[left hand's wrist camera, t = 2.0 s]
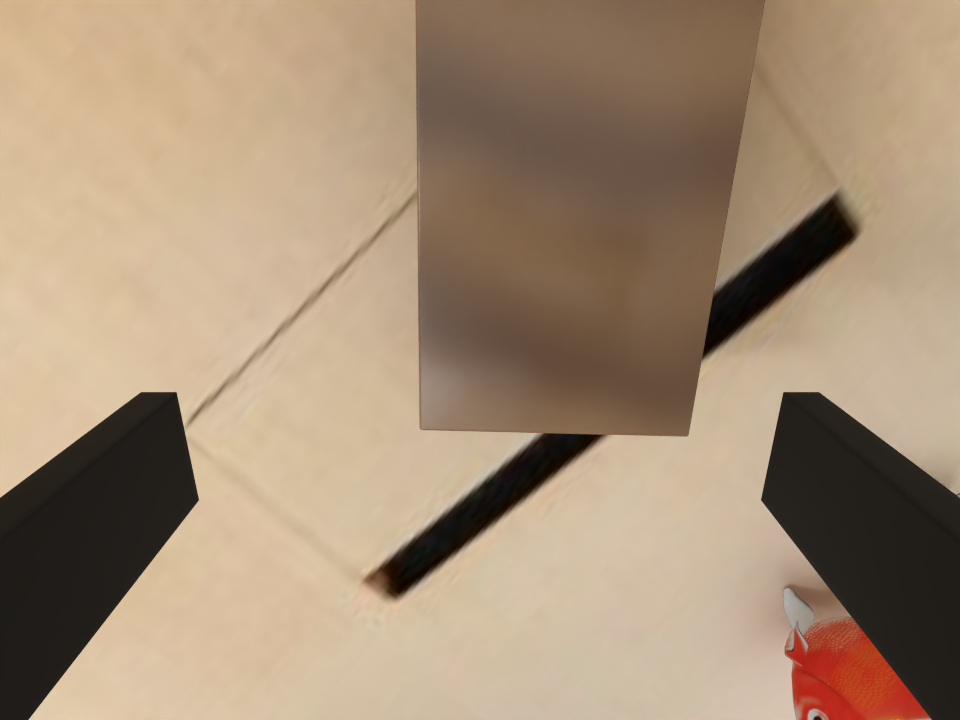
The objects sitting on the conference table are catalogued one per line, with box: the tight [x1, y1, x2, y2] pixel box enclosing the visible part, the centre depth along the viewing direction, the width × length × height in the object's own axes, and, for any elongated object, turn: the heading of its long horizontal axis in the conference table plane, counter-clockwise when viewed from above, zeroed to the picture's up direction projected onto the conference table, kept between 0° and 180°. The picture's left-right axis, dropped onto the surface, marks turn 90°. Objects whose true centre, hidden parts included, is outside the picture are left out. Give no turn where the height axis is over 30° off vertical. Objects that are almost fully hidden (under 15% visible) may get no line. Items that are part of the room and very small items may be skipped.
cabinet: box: [416, 0, 765, 436], centre depth 21 cm, size 21×10×8 cm, turn 179°
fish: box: [783, 493, 960, 720], centre depth 30 cm, size 11×16×10 cm
